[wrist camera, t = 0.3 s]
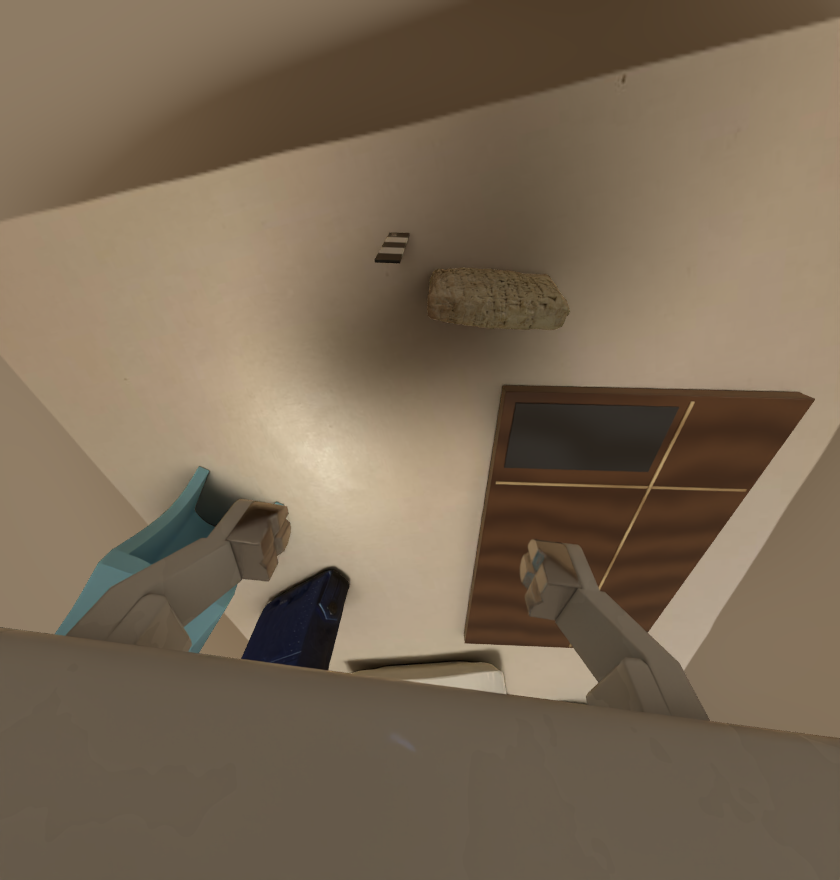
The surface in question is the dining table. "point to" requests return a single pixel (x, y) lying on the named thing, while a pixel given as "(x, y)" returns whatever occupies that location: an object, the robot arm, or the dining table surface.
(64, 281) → the dining table surface
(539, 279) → the cuneiform tablet
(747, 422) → the board
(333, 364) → the dining table surface
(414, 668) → the square plate
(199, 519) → the light blue toy chair
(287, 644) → the book
